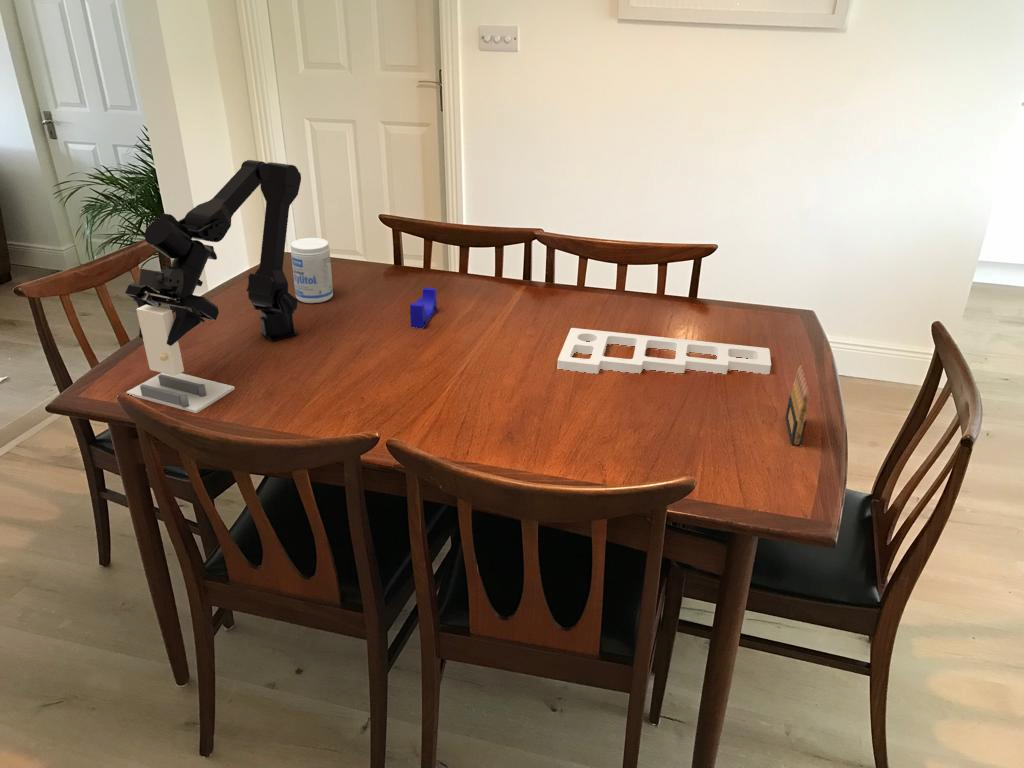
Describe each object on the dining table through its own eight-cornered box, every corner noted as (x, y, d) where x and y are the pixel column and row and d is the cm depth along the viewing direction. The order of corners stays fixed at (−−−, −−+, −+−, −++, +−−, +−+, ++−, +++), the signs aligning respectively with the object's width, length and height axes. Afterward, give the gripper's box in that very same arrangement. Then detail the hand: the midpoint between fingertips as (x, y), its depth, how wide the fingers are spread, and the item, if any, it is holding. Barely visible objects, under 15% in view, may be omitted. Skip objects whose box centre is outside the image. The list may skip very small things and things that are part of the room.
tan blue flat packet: (785, 417, 160) (795, 362, 154) (795, 418, 159) (806, 363, 154) (791, 445, 150) (802, 388, 145) (801, 446, 150) (813, 389, 144)
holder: (767, 359, 184) (769, 348, 182) (771, 396, 168) (773, 384, 167) (570, 338, 192) (571, 327, 191) (556, 371, 177) (557, 360, 176)
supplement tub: (291, 304, 208) (284, 248, 201) (301, 290, 216) (295, 236, 209) (329, 304, 207) (323, 249, 200) (337, 291, 216) (332, 237, 209)
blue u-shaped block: (419, 309, 206) (418, 286, 203) (436, 310, 205) (436, 288, 203) (405, 327, 196) (403, 304, 193) (423, 329, 195) (422, 306, 192)
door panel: (159, 364, 163) (145, 304, 157) (184, 370, 161) (171, 310, 154) (145, 372, 160) (131, 311, 154) (170, 378, 158) (157, 316, 152)
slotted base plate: (167, 372, 173) (165, 360, 172) (234, 389, 167) (232, 376, 166) (126, 394, 164) (123, 382, 163) (196, 413, 158) (193, 400, 157)
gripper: (121, 243, 156) (88, 317, 152) (197, 257, 150) (164, 334, 146) (160, 269, 166) (129, 339, 163) (233, 283, 160) (203, 356, 156)
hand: (155, 341), depth 156 cm, fingers closed on door panel, 6 cm apart
